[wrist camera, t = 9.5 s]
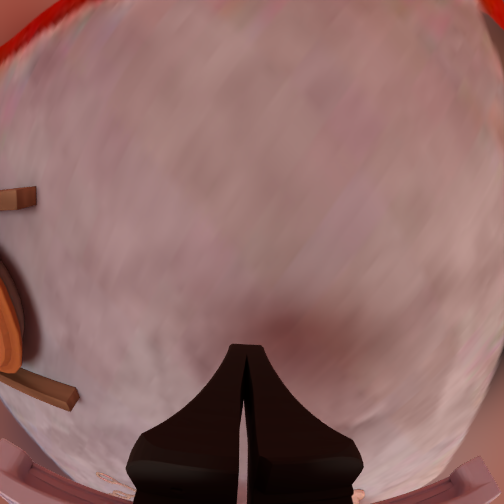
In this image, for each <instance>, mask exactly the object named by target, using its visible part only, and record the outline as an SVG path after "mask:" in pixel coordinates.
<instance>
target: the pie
mask: <svg viewBox="0 0 504 504" xmlns="http://www.w3.org/2000/svg"><path fill="white" fill-rule="evenodd" d="M24 326H25V323H24V312H23V308H22V304H21V300H20V296H19V294H18V292H17V289H16V286H15V284H14V281H13V280H12V278H11V276H10V274H9V272H8V270H7V269H6V267H5V266H4V264H3V263H2V262H1V260H0V371H1V372H5V373H16V372H17V371H18V370H19V368H20V367H21V365H22V339H23V332H24Z"/></svg>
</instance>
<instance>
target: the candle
mask: <svg viewBox="0 0 504 504" xmlns="http://www.w3.org/2000/svg"><path fill="white" fill-rule="evenodd" d="M353 491H354V494H353V495H352V500H353V504H359V500H361V499H362V498H363V497H364V496H365V493H364V491H363V490H353Z"/></svg>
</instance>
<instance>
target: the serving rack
mask: <svg viewBox="0 0 504 504" xmlns="http://www.w3.org/2000/svg"><path fill="white" fill-rule="evenodd" d="M33 205H36V186H34V187H24V188H14V189H6V190H0V210H18V209H21V208H25V207H29V206H33ZM0 381H1V382H3V383H5V384H7V385H9V386H11V387H13V388H15V389H17V390H19V391H21V392H23V393H25V394H27V395H30V396H32V397H34V398H36V399H39V400H41V401H44V402H46V403H48V404H51V405H53V406H56V407H59V408H61V409H64V410H67V411H70V412H71V410H72V409H73V407H74V406H75V404H76V402H77V401H78V399H79V398H80V397H79V394H78V392H77V390H76V388H75V387H72V386H69V385H66V384H62V383H59V382H57V381H54V380H51V379H48V378H45V377H43V376H40V375H37V374H35V373H32V372H30V371H27V370H25V369H22V368H19V370H18V371H17V372H16V373H5V372H1V371H0Z"/></svg>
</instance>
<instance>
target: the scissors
mask: <svg viewBox="0 0 504 504" xmlns="http://www.w3.org/2000/svg"><path fill="white" fill-rule="evenodd" d="M99 474H101V475H104V476H106V477H108V478H110V479H112V480H113V481H110V480H107V479H104V478H102V477H101V476H100V475H99ZM96 475H97V476H98V477H99V478H101V479H103V480H105V481H107V482H109V483H112V484H119V485H122V486H124V487H127V488H129V489H131V490H133V491H135V492H136V489H133V488H131V487H129V486H127V485H124V484H121V483H119V482H118V481H116V480H115V479H113V478H112V477H110V476H108V475H106V474H103V473H99V472H97V473H96ZM116 493H120V494H123V495H125V496H127V497H124V496H120V495H118V494H116ZM109 495H112V496H118V497H121V498H124V499H130V497H135V495H130V494H126V493H123V492H121V491H117V490H115V491H113V493H112V494H111V493H109Z"/></svg>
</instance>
